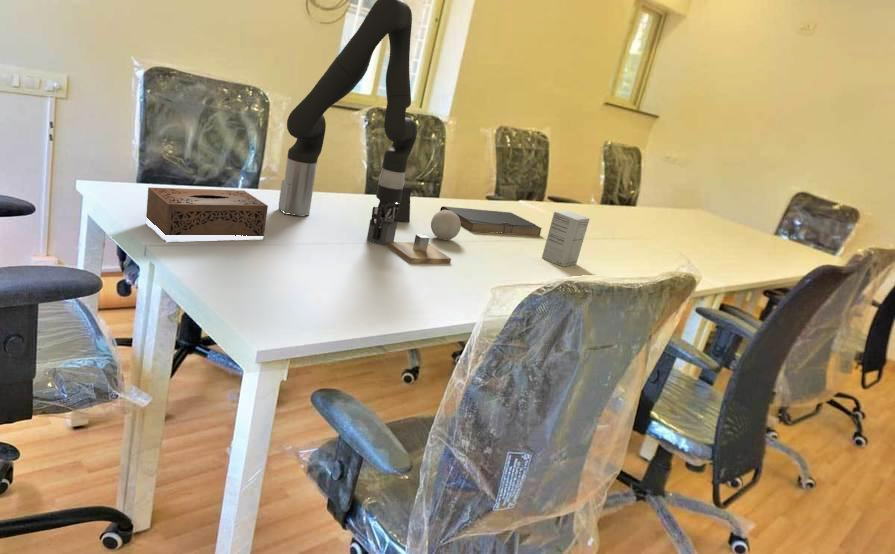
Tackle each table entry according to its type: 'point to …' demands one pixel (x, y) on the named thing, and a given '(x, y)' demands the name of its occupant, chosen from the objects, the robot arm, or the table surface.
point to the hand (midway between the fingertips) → (381, 237)
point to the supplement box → (565, 238)
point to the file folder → (493, 221)
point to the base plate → (418, 253)
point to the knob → (384, 232)
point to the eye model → (445, 224)
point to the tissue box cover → (206, 212)
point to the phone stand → (404, 205)
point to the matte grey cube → (421, 243)
